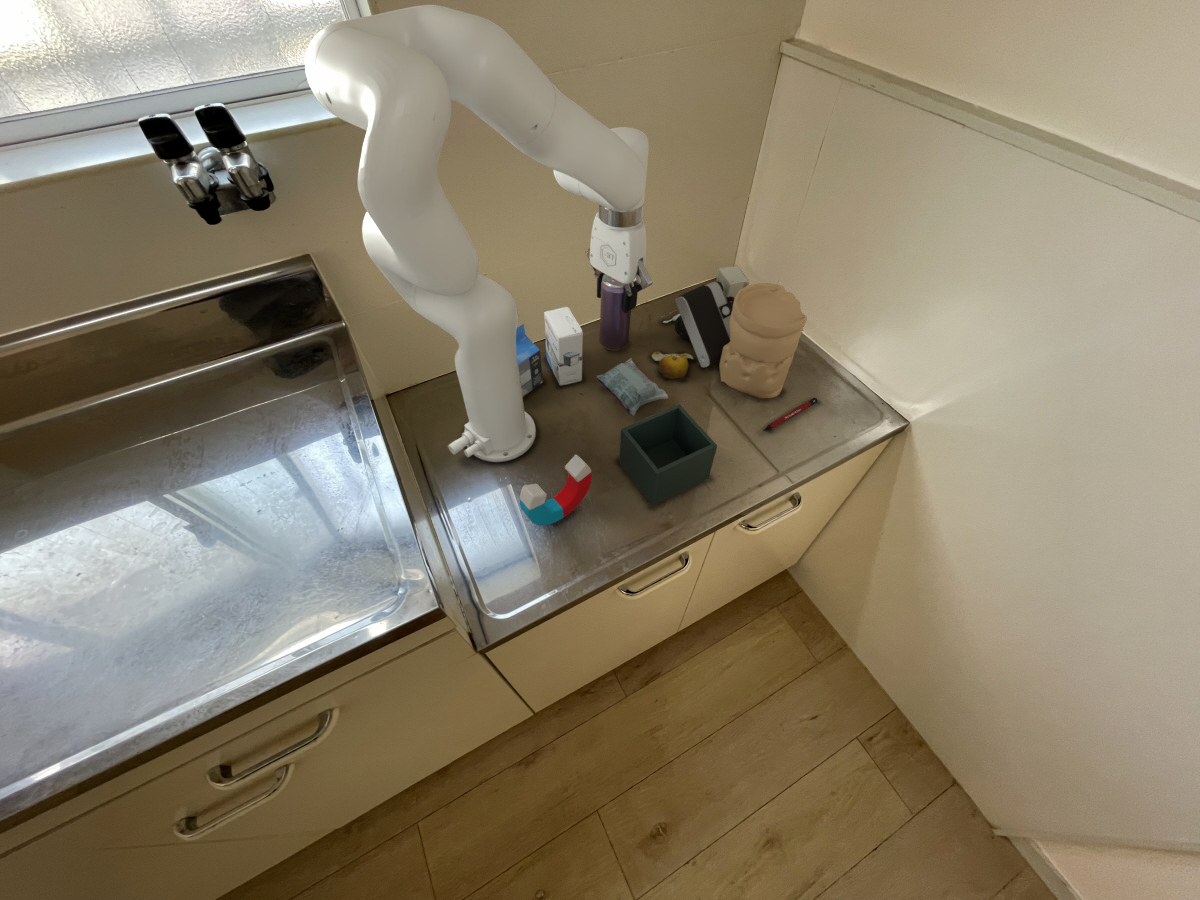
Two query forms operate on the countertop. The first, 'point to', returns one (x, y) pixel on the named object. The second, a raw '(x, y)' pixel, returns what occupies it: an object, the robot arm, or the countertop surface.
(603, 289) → the beverage can
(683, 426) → the waste bin
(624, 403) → the packaged food
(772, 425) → the pencil
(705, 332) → the camera
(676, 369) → the fruit
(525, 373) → the blue cardboard box
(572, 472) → the magnet
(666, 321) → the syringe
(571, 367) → the ink box
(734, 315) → the container
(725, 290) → the cosmetic box
